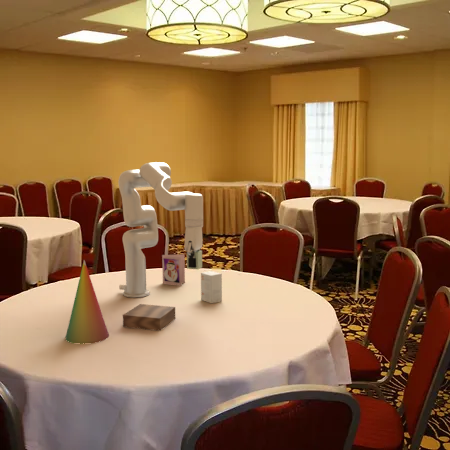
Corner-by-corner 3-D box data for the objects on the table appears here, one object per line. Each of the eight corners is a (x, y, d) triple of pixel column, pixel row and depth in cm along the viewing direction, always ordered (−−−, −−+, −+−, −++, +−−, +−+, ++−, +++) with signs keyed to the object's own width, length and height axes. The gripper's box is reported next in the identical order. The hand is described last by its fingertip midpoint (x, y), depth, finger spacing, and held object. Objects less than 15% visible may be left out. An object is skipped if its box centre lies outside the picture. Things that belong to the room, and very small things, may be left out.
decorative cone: (65, 346, 211) (61, 265, 207) (65, 331, 227) (61, 256, 222) (110, 341, 216) (107, 262, 211) (107, 328, 231) (104, 254, 227)
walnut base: (123, 327, 232) (122, 314, 231) (140, 315, 247) (140, 303, 247) (160, 330, 228) (160, 318, 227) (175, 318, 243) (175, 307, 242)
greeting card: (161, 283, 300) (161, 255, 298) (169, 280, 307) (169, 252, 305) (180, 286, 295) (180, 257, 293) (188, 283, 302) (187, 254, 299)
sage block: (187, 268, 244) (186, 252, 243) (191, 266, 249) (190, 250, 248) (198, 269, 242) (198, 253, 241) (202, 266, 247) (202, 250, 246)
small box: (222, 301, 268) (222, 273, 266) (211, 303, 264) (211, 275, 262) (211, 297, 275) (211, 270, 273) (200, 299, 271) (200, 272, 269)
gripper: (192, 220, 252) (193, 261, 255) (178, 225, 236) (178, 269, 238) (209, 220, 250) (209, 262, 252) (195, 226, 234) (196, 271, 236)
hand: (194, 265), depth 245 cm, fingers closed on sage block, 5 cm apart
